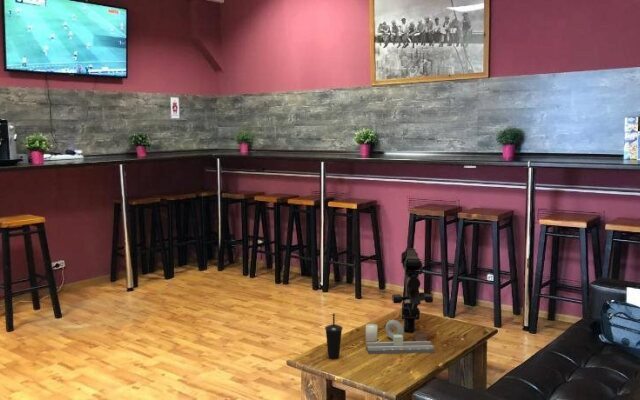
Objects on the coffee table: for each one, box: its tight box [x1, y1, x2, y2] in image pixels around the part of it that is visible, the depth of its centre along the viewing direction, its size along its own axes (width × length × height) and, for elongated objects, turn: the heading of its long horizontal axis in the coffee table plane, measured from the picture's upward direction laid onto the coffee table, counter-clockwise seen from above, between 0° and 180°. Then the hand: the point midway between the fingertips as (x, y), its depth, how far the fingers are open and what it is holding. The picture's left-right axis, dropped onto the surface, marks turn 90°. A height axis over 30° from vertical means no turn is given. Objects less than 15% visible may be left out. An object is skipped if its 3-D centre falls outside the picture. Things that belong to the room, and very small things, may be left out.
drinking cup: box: [324, 313, 343, 360], centre depth 264 cm, size 8×8×20 cm
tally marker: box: [392, 335, 404, 346], centre depth 273 cm, size 4×4×5 cm
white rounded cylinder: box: [365, 323, 378, 343], centre depth 286 cm, size 6×6×7 cm
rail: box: [365, 340, 435, 355], centre depth 273 cm, size 8×30×3 cm, turn 93°
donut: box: [384, 319, 405, 340], centre depth 286 cm, size 10×4×10 cm, turn 50°
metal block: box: [413, 330, 428, 342], centre depth 285 cm, size 5×5×4 cm
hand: (411, 316), depth 284 cm, fingers closed
